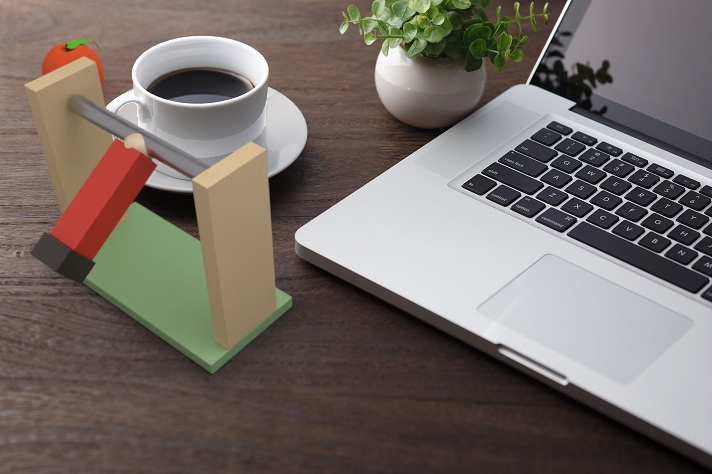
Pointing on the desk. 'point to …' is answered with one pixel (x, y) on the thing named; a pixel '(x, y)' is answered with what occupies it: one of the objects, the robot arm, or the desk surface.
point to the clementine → (70, 56)
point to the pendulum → (107, 190)
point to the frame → (171, 234)
